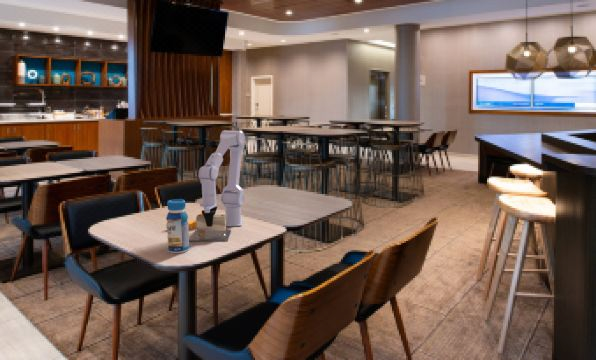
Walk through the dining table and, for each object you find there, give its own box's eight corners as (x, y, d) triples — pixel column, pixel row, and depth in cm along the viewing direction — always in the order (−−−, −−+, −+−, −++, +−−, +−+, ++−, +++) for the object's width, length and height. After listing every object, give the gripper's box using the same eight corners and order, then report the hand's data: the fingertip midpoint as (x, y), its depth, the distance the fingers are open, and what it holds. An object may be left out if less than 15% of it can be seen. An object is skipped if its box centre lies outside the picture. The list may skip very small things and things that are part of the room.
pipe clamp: (177, 229, 203) (177, 215, 202) (179, 226, 208) (178, 213, 206) (204, 228, 205) (203, 214, 204) (205, 225, 209) (204, 212, 208)
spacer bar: (198, 227, 194) (197, 213, 193) (225, 227, 194) (225, 213, 193) (196, 230, 190) (196, 216, 189) (224, 230, 190) (224, 216, 189)
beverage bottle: (193, 251, 175) (190, 201, 171) (172, 255, 170) (169, 204, 166) (185, 245, 181) (182, 197, 178) (164, 249, 177) (161, 200, 173)
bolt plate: (195, 231, 199) (195, 230, 199) (231, 231, 200) (231, 229, 200) (189, 241, 185) (189, 240, 185) (227, 241, 186) (227, 239, 186)
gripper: (202, 190, 196) (203, 220, 199) (196, 198, 182) (198, 230, 184) (218, 190, 196) (219, 220, 199) (213, 197, 182) (215, 229, 185)
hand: (210, 224), depth 192 cm, fingers closed on spacer bar, 4 cm apart
